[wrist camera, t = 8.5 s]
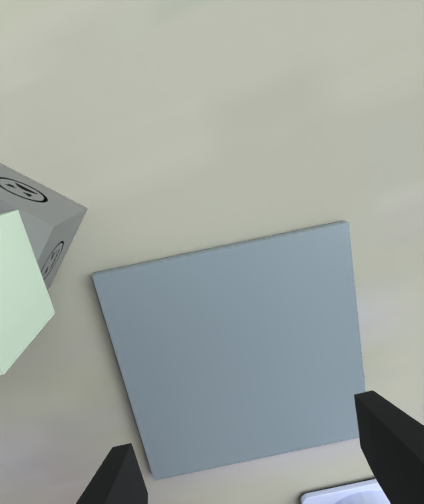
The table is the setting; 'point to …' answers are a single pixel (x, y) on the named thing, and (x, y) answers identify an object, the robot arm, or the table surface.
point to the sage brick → (19, 291)
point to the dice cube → (41, 218)
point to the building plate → (239, 348)
